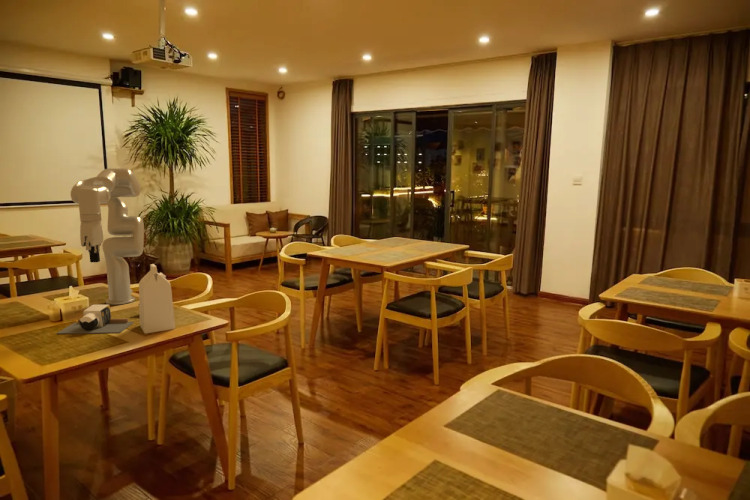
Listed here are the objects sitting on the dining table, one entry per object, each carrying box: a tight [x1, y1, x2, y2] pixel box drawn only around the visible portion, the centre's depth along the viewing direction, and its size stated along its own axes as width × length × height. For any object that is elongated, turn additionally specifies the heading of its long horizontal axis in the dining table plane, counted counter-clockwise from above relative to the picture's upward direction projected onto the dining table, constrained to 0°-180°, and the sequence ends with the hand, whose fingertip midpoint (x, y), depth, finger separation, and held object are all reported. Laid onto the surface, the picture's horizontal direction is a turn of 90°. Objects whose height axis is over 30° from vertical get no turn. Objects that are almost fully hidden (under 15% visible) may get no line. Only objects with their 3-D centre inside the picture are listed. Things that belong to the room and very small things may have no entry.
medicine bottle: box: [79, 304, 113, 330], centre depth 201 cm, size 7×7×12 cm
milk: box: [138, 263, 176, 334], centre depth 201 cm, size 12×12×26 cm
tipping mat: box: [56, 317, 134, 335], centre depth 200 cm, size 13×24×2 cm, turn 94°
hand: (95, 261), depth 204 cm, fingers closed
